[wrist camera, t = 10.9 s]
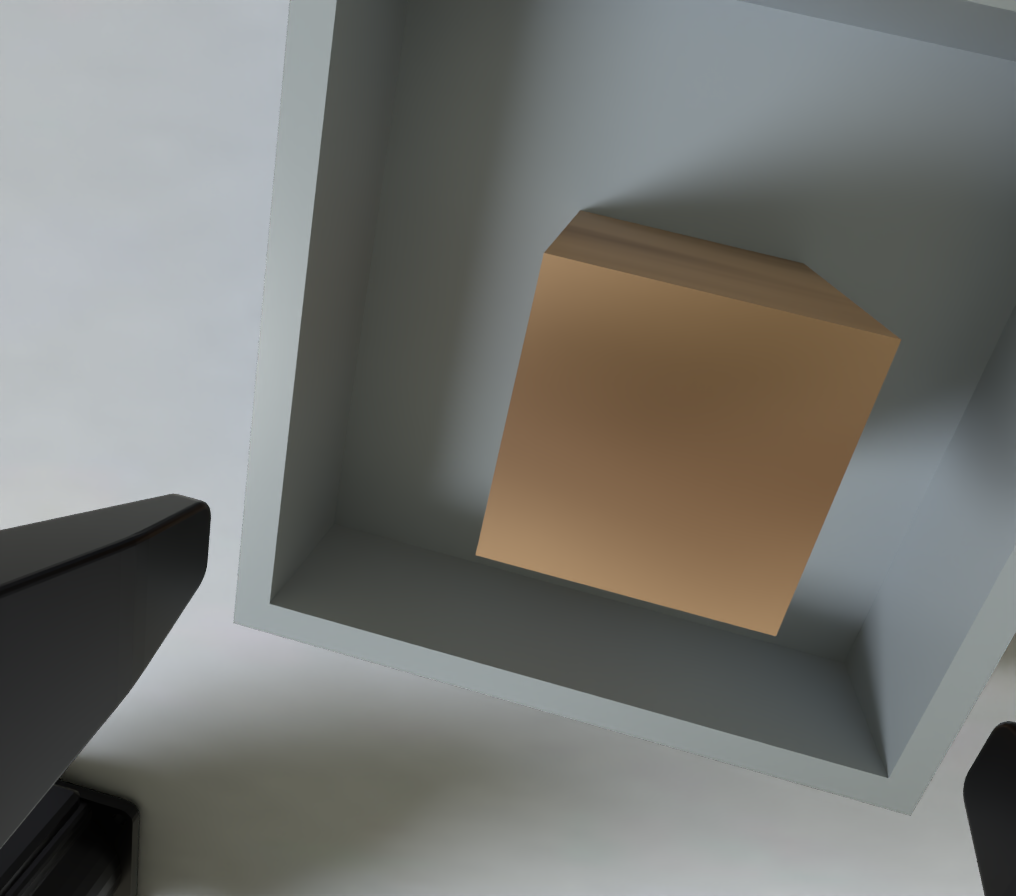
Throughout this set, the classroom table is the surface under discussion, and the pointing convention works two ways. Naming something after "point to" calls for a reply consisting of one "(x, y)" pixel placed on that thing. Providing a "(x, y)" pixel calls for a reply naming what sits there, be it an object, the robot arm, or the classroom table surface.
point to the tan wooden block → (680, 420)
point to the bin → (503, 323)
